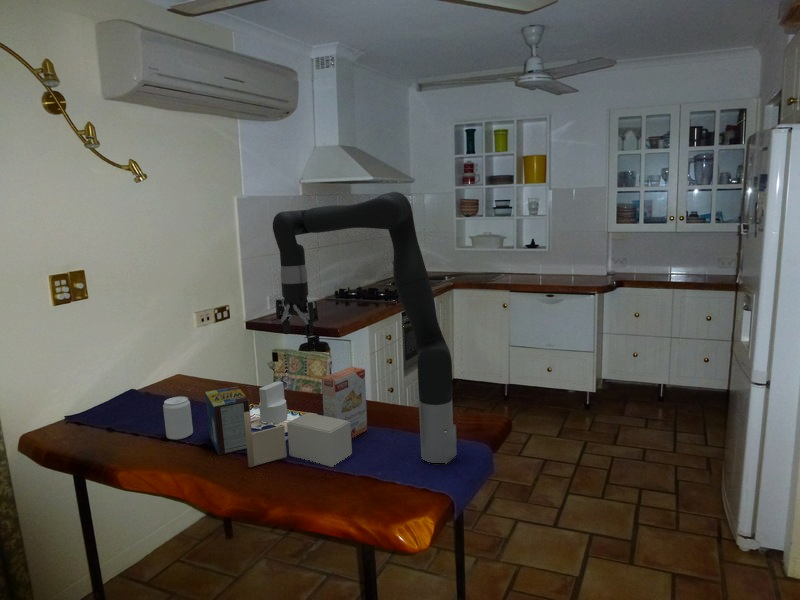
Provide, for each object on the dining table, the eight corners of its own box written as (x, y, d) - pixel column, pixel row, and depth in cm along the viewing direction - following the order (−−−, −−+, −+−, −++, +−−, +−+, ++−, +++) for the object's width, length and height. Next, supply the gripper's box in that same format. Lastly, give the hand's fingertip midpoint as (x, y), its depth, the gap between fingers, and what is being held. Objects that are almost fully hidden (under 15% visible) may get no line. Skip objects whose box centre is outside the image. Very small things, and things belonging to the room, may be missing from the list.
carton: (352, 454, 173) (350, 420, 171) (332, 467, 166) (330, 431, 164) (309, 444, 182) (307, 412, 180) (289, 455, 174) (286, 422, 172)
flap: (249, 467, 167) (244, 414, 164) (247, 465, 168) (243, 412, 165) (287, 457, 172) (283, 405, 170) (285, 455, 174) (281, 403, 171)
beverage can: (162, 436, 192) (157, 401, 190) (185, 428, 198) (181, 394, 196) (174, 443, 187) (169, 406, 185) (198, 434, 193) (194, 399, 191)
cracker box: (339, 447, 178) (334, 380, 175) (324, 443, 182) (320, 377, 178) (369, 431, 189) (365, 368, 186) (354, 427, 193) (350, 365, 189)
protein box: (242, 431, 194) (238, 385, 191) (253, 448, 181) (249, 399, 178) (209, 438, 190) (204, 391, 187) (218, 456, 176) (213, 406, 173)
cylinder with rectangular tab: (274, 426, 197) (271, 391, 195) (254, 421, 202) (251, 387, 200) (293, 416, 205) (290, 383, 203) (273, 412, 210) (270, 380, 208)
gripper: (267, 281, 174) (271, 335, 176) (304, 283, 166) (308, 340, 169) (285, 277, 180) (289, 330, 183) (321, 279, 172) (325, 334, 175)
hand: (298, 335), depth 176 cm, fingers open, 8 cm apart
